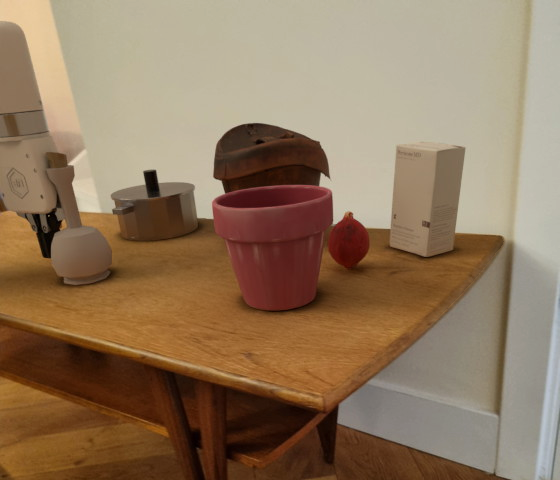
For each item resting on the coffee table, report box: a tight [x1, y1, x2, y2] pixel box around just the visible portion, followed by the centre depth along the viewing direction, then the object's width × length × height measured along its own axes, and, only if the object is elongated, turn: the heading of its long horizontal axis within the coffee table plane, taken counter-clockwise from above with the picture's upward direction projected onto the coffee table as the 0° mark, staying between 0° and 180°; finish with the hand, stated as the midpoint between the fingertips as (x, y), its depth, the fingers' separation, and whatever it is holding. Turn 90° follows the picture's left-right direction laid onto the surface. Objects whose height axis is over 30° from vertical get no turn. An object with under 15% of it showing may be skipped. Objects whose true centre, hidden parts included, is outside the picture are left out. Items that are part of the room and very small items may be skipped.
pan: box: [111, 190, 199, 242], centre depth 105 cm, size 15×20×7 cm
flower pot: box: [211, 185, 334, 311], centre depth 67 cm, size 14×14×13 cm
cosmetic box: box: [389, 141, 466, 258], centre depth 80 cm, size 8×6×15 cm
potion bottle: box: [46, 152, 113, 286], centre depth 79 cm, size 9×9×18 cm
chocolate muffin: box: [212, 122, 332, 194], centre depth 90 cm, size 18×20×18 cm
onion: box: [327, 210, 371, 270], centre depth 76 cm, size 6×6×8 cm
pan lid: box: [110, 169, 196, 202], centre depth 102 cm, size 16×16×5 cm
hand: (54, 255), depth 85 cm, fingers closed
